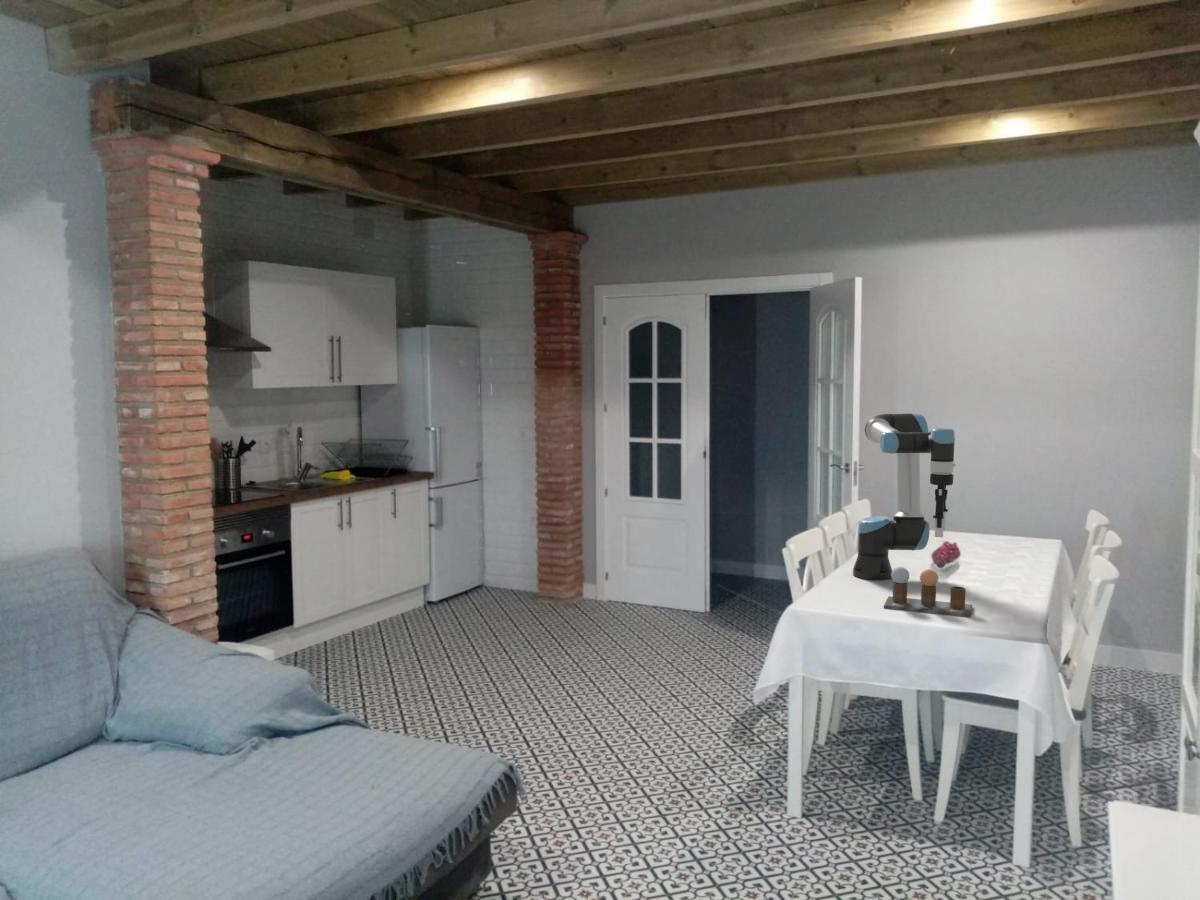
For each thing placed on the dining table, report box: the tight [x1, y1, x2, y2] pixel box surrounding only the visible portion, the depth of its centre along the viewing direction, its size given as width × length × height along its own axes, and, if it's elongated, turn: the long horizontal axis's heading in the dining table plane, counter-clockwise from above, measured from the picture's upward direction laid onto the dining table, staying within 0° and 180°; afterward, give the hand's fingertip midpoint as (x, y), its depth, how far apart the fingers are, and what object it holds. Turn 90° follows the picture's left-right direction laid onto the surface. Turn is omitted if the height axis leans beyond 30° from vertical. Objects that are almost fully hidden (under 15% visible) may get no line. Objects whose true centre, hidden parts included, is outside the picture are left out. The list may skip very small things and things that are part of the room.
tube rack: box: [883, 581, 973, 618], centre depth 318 cm, size 28×13×8 cm, turn 65°
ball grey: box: [891, 566, 910, 584], centre depth 321 cm, size 6×6×6 cm
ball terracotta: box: [919, 569, 939, 587], centre depth 317 cm, size 6×6×6 cm
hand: (939, 533), depth 319 cm, fingers open, 13 cm apart
